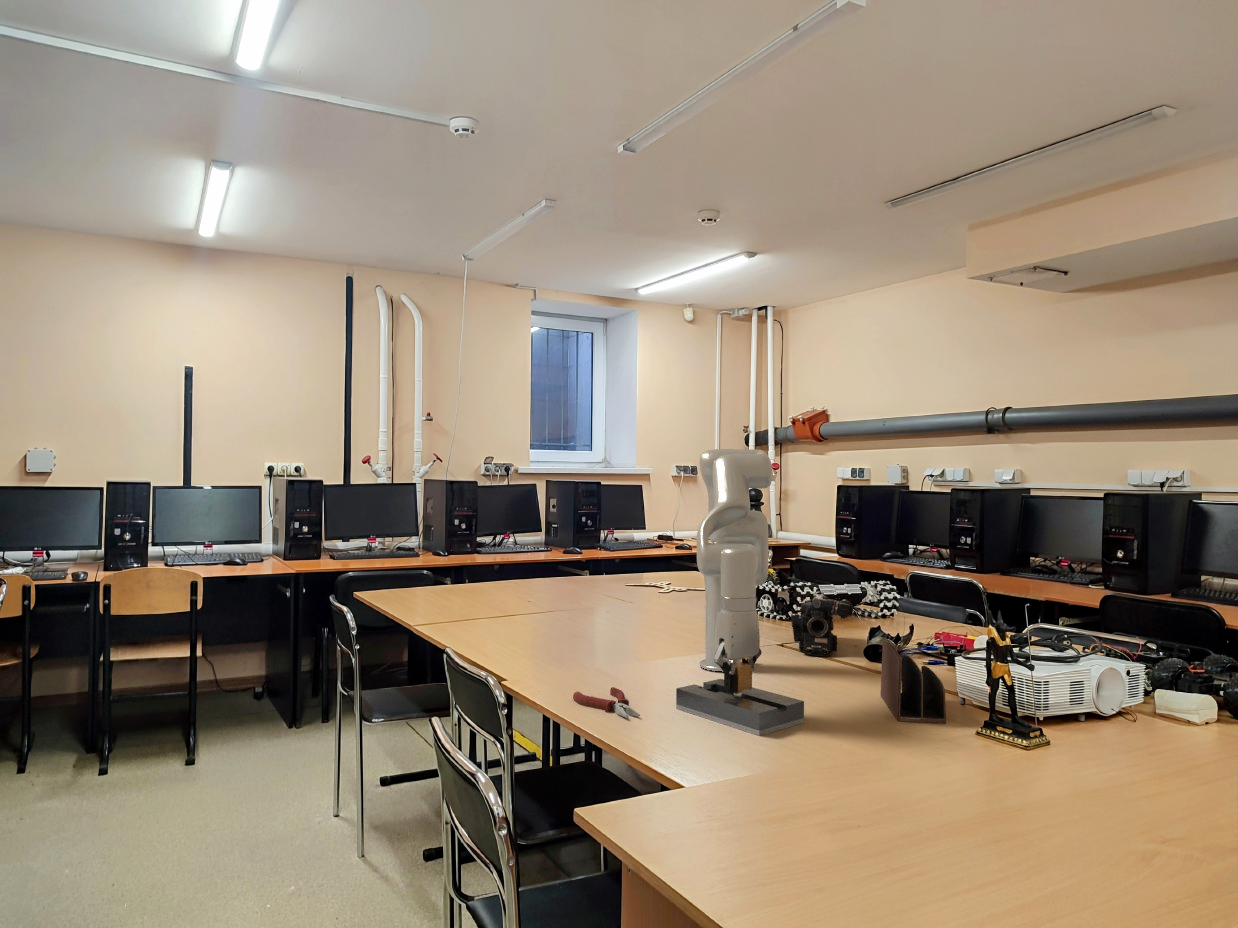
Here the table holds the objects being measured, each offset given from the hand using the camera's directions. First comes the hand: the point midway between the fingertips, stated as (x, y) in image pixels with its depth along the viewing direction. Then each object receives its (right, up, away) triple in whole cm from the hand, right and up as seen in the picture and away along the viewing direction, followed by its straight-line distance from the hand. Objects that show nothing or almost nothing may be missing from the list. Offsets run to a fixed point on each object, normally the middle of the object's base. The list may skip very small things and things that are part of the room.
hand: (737, 688), depth 175 cm
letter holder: (+39, -6, +5) cm, 40 cm away
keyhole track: (0, -6, 0) cm, 6 cm away
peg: (0, -4, 0) cm, 4 cm away
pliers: (-29, -6, +6) cm, 30 cm away
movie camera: (+35, -7, +69) cm, 78 cm away
